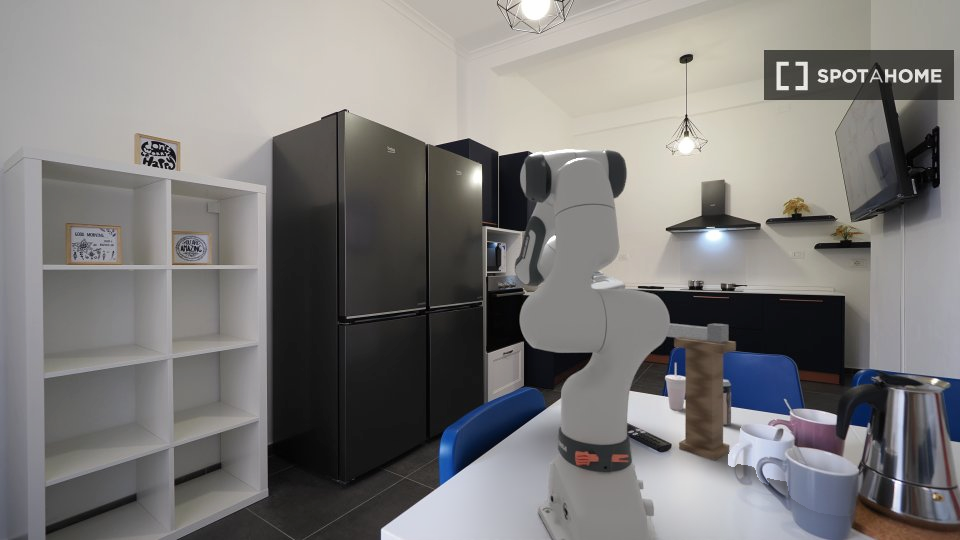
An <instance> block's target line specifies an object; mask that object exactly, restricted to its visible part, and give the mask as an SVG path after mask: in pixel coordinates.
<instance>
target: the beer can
mask: <svg viewBox="0 0 960 540" xmlns="http://www.w3.org/2000/svg"><path fill="white" fill-rule="evenodd" d="M730 424H732V384H731V382H730V380H729V379H724V378H723V426H728V425H730Z"/></svg>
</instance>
